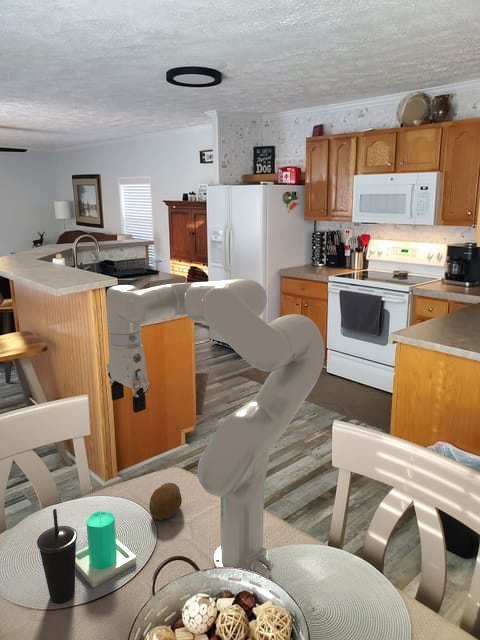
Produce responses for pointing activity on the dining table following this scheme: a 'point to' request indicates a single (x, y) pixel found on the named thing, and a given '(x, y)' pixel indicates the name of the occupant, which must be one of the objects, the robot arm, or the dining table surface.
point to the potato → (165, 501)
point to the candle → (101, 540)
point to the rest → (102, 575)
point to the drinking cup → (59, 560)
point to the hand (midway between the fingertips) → (128, 404)
